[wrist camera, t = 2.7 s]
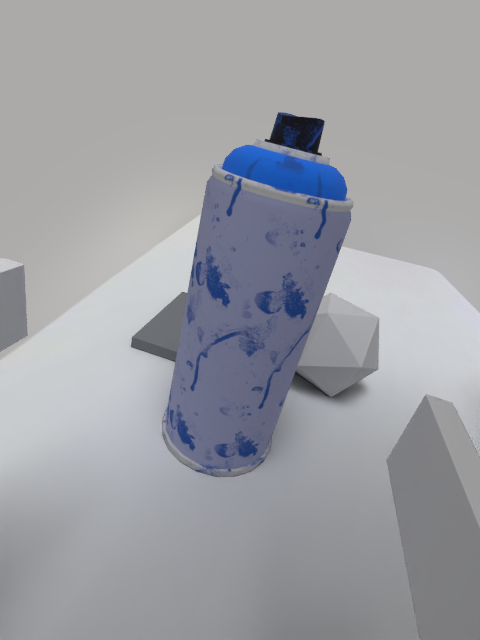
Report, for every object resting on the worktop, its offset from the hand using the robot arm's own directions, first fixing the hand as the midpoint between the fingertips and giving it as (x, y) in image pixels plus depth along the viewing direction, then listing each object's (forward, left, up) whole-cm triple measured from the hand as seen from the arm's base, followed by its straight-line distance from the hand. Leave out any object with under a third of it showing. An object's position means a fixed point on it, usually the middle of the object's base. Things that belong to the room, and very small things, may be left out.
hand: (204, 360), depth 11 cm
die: (-7, -21, -12) cm, 25 cm away
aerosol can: (0, -10, -12) cm, 16 cm away
